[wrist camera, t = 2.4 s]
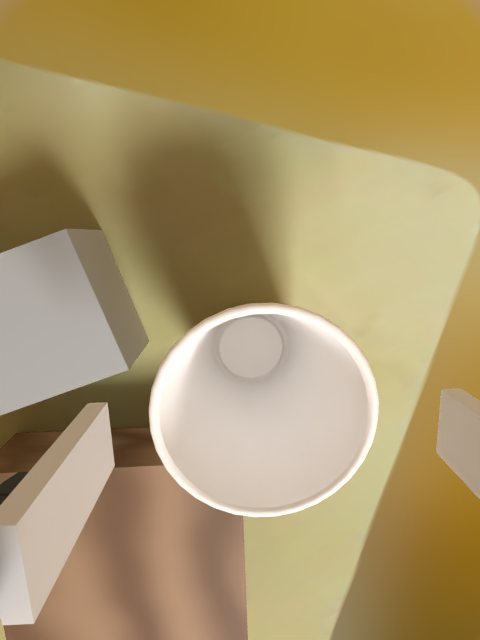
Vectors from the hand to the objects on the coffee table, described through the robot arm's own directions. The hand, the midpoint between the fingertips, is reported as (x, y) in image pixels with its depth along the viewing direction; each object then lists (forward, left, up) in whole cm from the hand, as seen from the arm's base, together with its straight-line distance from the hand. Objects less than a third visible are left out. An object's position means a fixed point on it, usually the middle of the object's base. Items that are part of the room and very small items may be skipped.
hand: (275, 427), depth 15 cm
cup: (0, 0, -13) cm, 13 cm away
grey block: (-12, +3, -13) cm, 18 cm away
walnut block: (-9, -14, -12) cm, 21 cm away
